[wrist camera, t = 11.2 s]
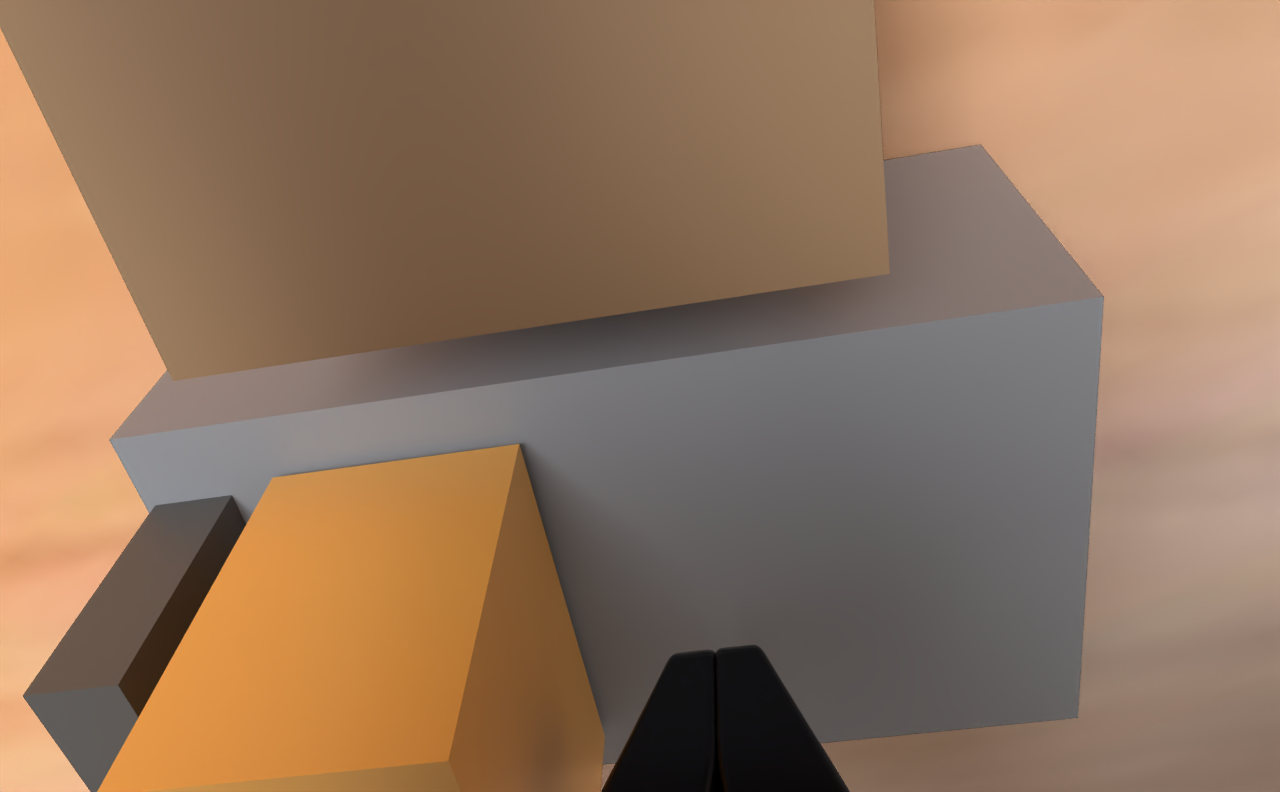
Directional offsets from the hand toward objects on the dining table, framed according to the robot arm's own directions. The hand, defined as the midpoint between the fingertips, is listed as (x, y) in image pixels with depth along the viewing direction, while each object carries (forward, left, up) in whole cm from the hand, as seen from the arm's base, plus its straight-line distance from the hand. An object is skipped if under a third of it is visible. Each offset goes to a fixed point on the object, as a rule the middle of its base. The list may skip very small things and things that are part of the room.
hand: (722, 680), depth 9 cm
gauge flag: (+3, 0, -1) cm, 3 cm away
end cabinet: (+1, 0, -5) cm, 5 cm away
